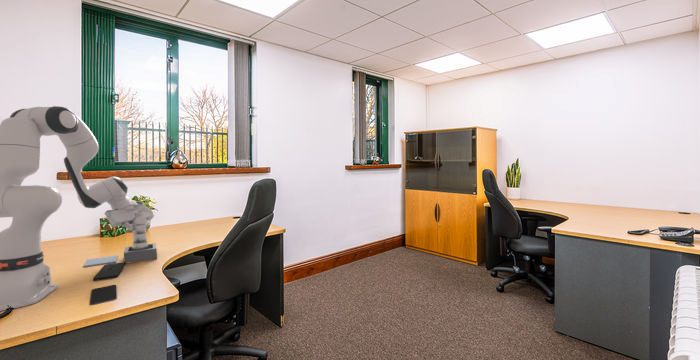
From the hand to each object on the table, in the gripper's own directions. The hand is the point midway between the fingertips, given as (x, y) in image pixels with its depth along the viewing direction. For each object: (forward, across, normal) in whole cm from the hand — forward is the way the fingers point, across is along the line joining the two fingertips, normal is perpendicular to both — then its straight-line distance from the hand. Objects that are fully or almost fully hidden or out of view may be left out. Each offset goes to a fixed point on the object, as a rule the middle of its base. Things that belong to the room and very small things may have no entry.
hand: (140, 228), depth 153 cm
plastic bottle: (+8, 0, +9) cm, 12 cm away
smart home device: (+15, -19, +7) cm, 25 cm away
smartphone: (+32, -37, -9) cm, 50 cm away
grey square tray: (+10, 0, +11) cm, 15 cm away
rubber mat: (0, -9, +20) cm, 23 cm away
